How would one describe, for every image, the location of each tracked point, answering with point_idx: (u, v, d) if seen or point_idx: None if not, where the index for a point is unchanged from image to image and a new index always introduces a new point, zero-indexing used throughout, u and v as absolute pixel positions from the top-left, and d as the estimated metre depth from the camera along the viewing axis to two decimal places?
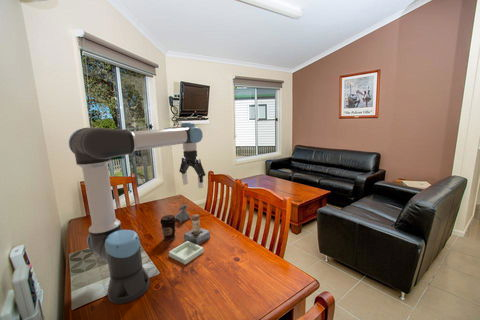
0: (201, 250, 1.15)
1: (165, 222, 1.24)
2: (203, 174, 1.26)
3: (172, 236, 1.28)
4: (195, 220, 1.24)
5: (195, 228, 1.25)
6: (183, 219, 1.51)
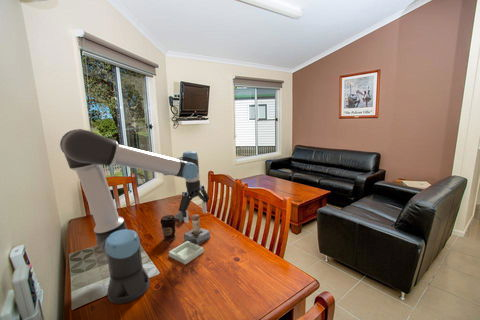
0: (201, 250, 1.15)
1: (165, 222, 1.24)
2: (180, 209, 1.17)
3: (172, 236, 1.28)
4: (195, 220, 1.24)
5: (195, 228, 1.25)
6: (183, 219, 1.52)
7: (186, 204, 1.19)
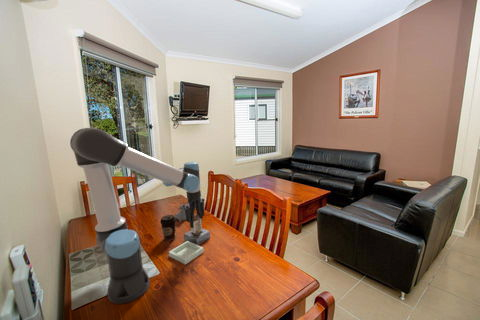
0: (201, 250, 1.15)
1: (165, 222, 1.24)
2: (187, 221, 1.22)
3: (172, 236, 1.28)
4: (195, 220, 1.24)
5: None
6: (182, 218, 1.52)
7: (191, 215, 1.23)
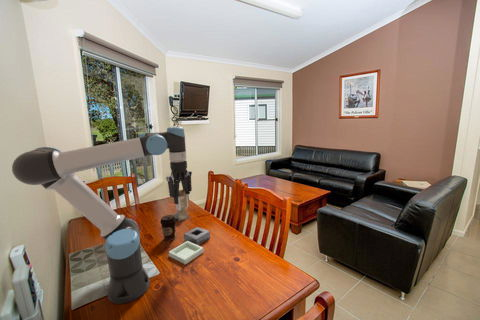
0: (201, 250, 1.15)
1: (165, 222, 1.24)
2: (171, 195, 1.04)
3: (172, 236, 1.28)
4: (180, 195, 1.07)
5: (181, 205, 1.08)
6: None
7: (175, 189, 1.05)
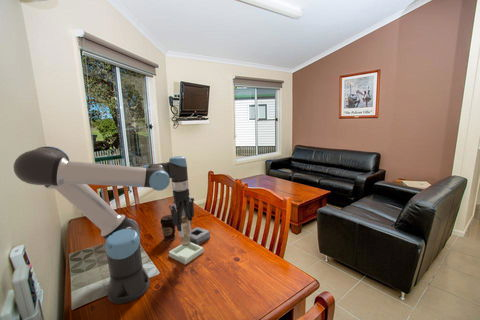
0: (201, 250, 1.15)
1: (165, 222, 1.24)
2: (174, 223, 1.07)
3: (172, 236, 1.28)
4: (183, 223, 1.09)
5: (184, 231, 1.10)
6: None
7: (178, 217, 1.08)
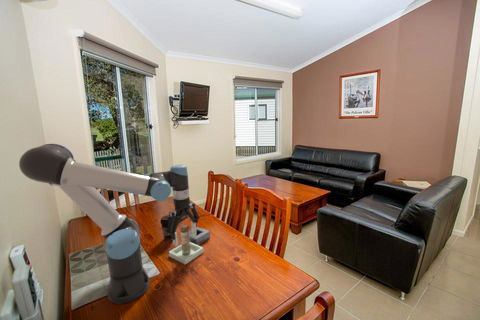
0: (201, 250, 1.15)
1: (165, 222, 1.24)
2: (168, 231, 1.04)
3: None
4: (184, 232, 1.10)
5: (184, 241, 1.11)
6: None
7: (174, 225, 1.06)
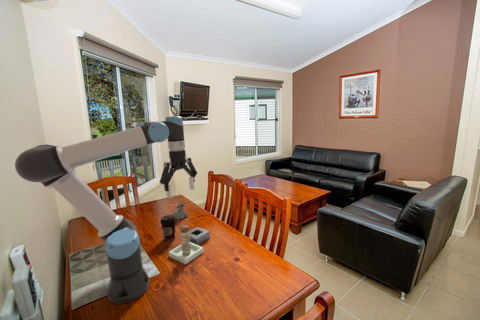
0: (201, 250, 1.15)
1: (165, 222, 1.24)
2: (161, 181, 1.02)
3: (172, 236, 1.28)
4: (184, 232, 1.10)
5: (184, 241, 1.11)
6: (180, 217, 1.54)
7: (168, 176, 1.04)
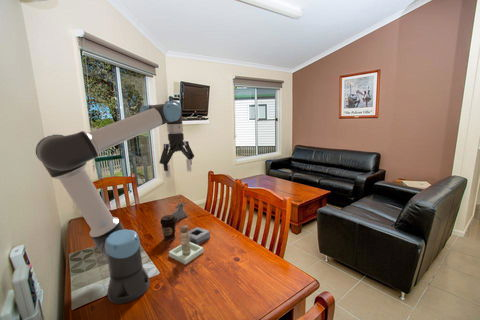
0: (201, 250, 1.15)
1: (165, 222, 1.24)
2: (161, 161, 1.09)
3: (172, 236, 1.28)
4: (184, 232, 1.10)
5: (184, 241, 1.11)
6: (180, 217, 1.55)
7: (168, 157, 1.11)
